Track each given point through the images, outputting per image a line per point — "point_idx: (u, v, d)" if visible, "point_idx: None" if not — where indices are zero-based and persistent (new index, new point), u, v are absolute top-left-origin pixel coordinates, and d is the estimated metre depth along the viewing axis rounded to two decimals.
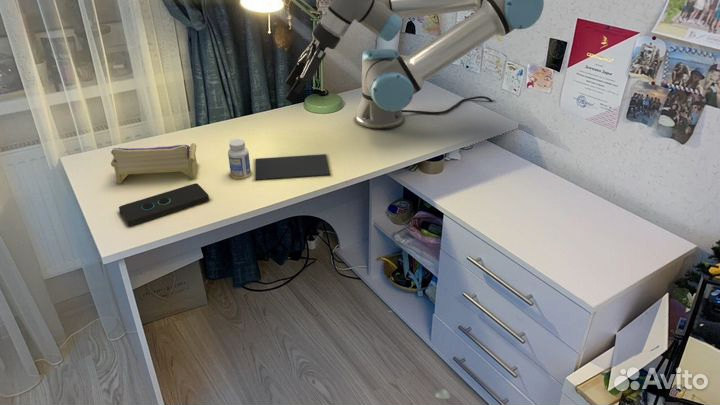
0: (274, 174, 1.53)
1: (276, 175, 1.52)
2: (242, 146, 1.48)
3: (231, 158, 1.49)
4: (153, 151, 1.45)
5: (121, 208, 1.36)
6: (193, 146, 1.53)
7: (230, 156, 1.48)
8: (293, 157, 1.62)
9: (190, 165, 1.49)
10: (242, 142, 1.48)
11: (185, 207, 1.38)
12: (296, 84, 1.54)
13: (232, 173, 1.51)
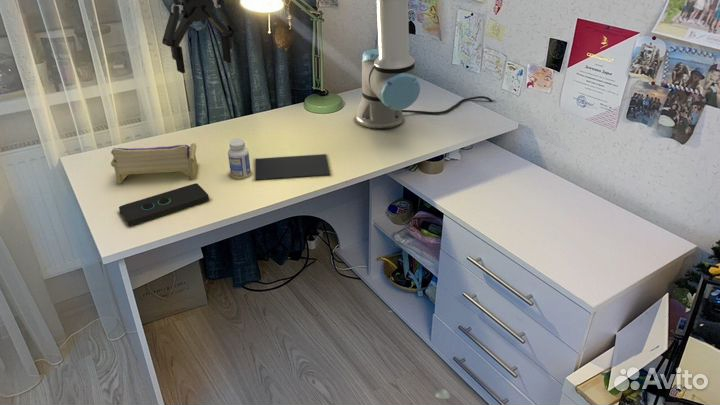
0: (274, 174, 1.53)
1: (276, 175, 1.52)
2: (242, 146, 1.48)
3: (231, 158, 1.49)
4: (153, 151, 1.45)
5: (121, 208, 1.36)
6: (193, 146, 1.53)
7: (230, 156, 1.48)
8: (293, 157, 1.62)
9: (190, 165, 1.49)
10: (242, 142, 1.48)
11: (185, 207, 1.38)
12: None
13: (232, 173, 1.51)
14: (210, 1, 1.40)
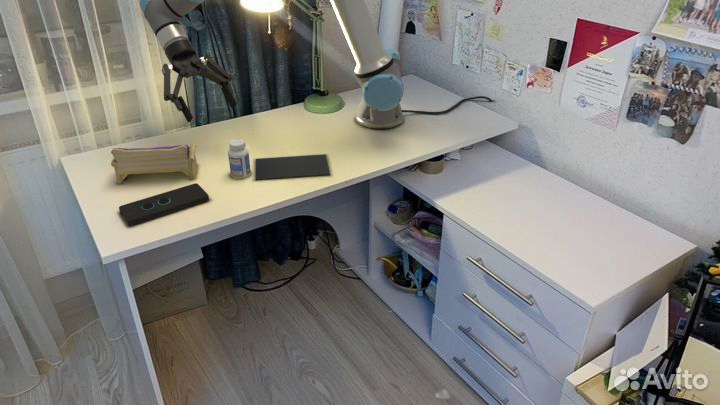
0: (274, 174, 1.53)
1: (276, 175, 1.52)
2: (242, 146, 1.48)
3: (231, 158, 1.49)
4: (153, 151, 1.45)
5: (121, 208, 1.36)
6: (193, 146, 1.53)
7: (230, 156, 1.48)
8: (293, 157, 1.62)
9: (190, 165, 1.49)
10: (242, 142, 1.48)
11: (185, 207, 1.38)
12: None
13: (232, 173, 1.51)
14: (196, 56, 1.54)
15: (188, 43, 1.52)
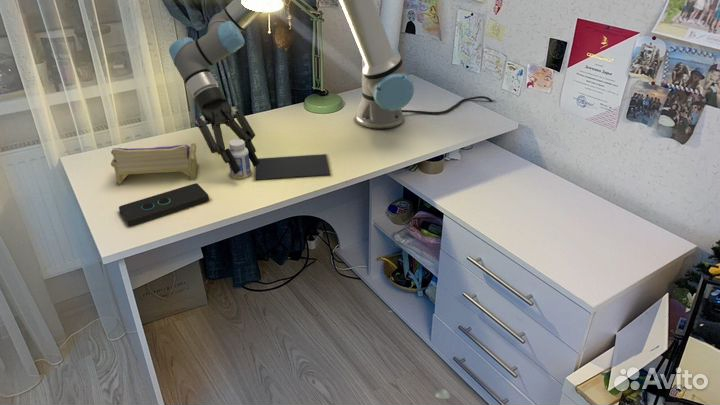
0: (274, 174, 1.53)
1: (276, 175, 1.52)
2: (242, 146, 1.48)
3: None
4: (153, 151, 1.45)
5: (121, 208, 1.36)
6: (193, 146, 1.53)
7: None
8: (293, 157, 1.62)
9: (190, 165, 1.49)
10: (242, 142, 1.48)
11: (185, 207, 1.38)
12: None
13: (232, 173, 1.51)
14: (226, 104, 1.52)
15: (218, 91, 1.49)
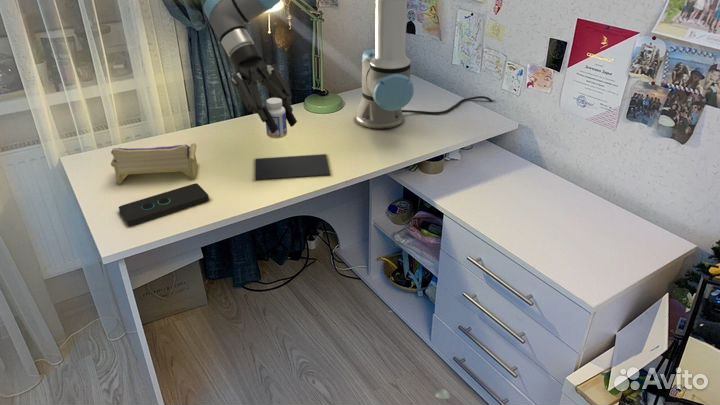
0: (274, 174, 1.53)
1: (276, 175, 1.52)
2: (280, 104, 1.44)
3: None
4: (153, 151, 1.45)
5: (121, 208, 1.36)
6: (193, 146, 1.53)
7: None
8: (293, 157, 1.62)
9: (190, 165, 1.49)
10: (279, 100, 1.45)
11: (185, 207, 1.38)
12: None
13: (269, 133, 1.48)
14: (262, 62, 1.48)
15: (255, 48, 1.46)
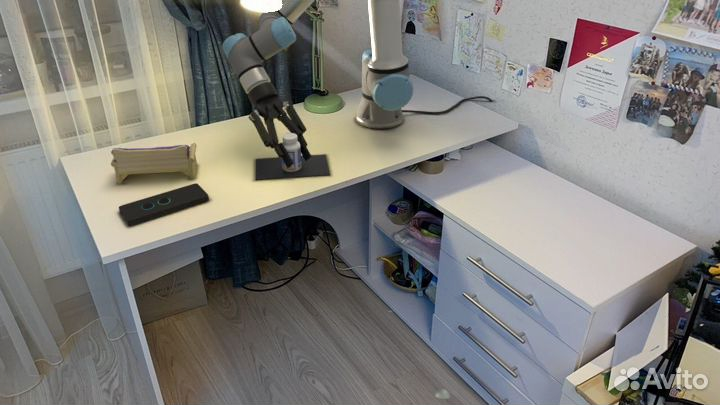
0: (274, 174, 1.53)
1: (276, 175, 1.52)
2: (295, 140, 1.50)
3: None
4: (153, 151, 1.45)
5: (121, 208, 1.36)
6: (193, 146, 1.53)
7: None
8: None
9: (190, 165, 1.49)
10: (295, 136, 1.51)
11: (185, 207, 1.38)
12: None
13: (284, 166, 1.54)
14: (278, 99, 1.54)
15: (271, 86, 1.52)
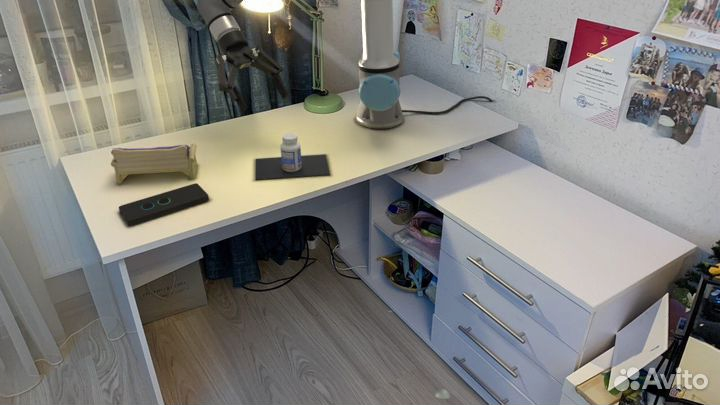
0: (274, 174, 1.53)
1: (276, 175, 1.52)
2: (295, 140, 1.50)
3: (284, 151, 1.51)
4: (153, 151, 1.45)
5: (121, 208, 1.36)
6: (193, 146, 1.53)
7: (283, 149, 1.51)
8: None
9: (190, 165, 1.49)
10: (295, 136, 1.51)
11: (185, 207, 1.38)
12: None
13: (284, 166, 1.54)
14: (248, 47, 1.56)
15: (241, 34, 1.54)
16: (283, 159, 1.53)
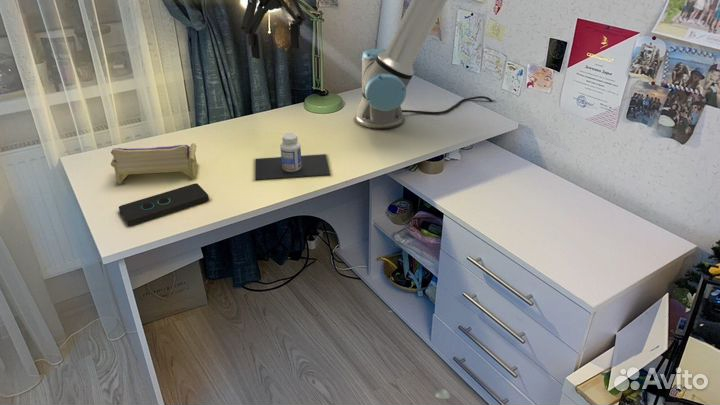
0: (274, 174, 1.53)
1: (276, 175, 1.52)
2: (295, 140, 1.50)
3: (284, 151, 1.51)
4: (153, 151, 1.45)
5: (121, 208, 1.36)
6: (193, 146, 1.53)
7: (283, 149, 1.51)
8: None
9: (190, 165, 1.49)
10: (295, 136, 1.51)
11: (185, 207, 1.38)
12: None
13: (284, 166, 1.54)
14: None
15: None
16: (283, 159, 1.53)
